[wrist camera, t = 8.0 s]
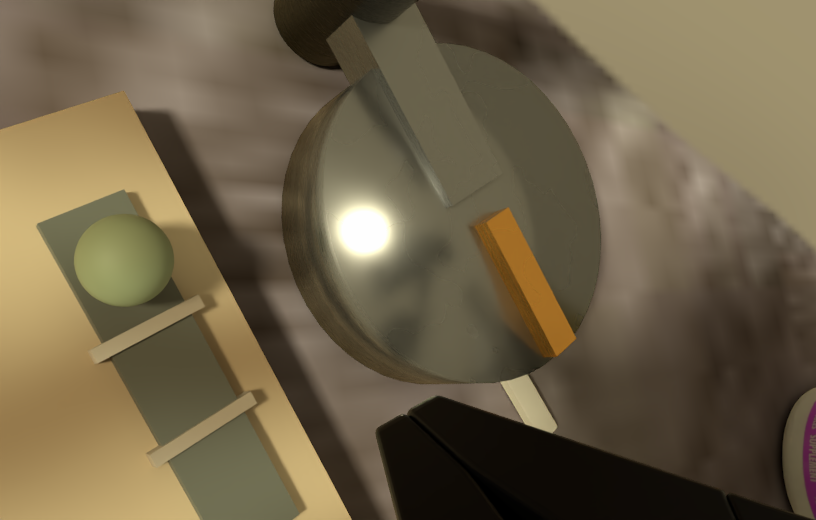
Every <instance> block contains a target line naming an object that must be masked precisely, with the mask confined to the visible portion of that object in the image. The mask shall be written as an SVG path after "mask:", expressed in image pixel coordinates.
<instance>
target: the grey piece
mask: <svg viewBox="0 0 816 520" xmlns="http://www.w3.org/2000/svg"><path fill="white" fill-rule="evenodd" d="M417 1H418V0H275V1H274V18H275V22H276V25H277V28H278V30H279V32H280V35H281V36H282V38H283V39H284V41H285V42H286V44H287V45H288V46H289V47H290V48H291V49H292V50H293V51H294V52H295V53H296V54H297V55H299V56H300V57H301V58H303V59H305V60H307V61H308V62H311V63H313V64H317V65H321V66H334V65H338V64H339V65H340V66H341V68H342V70H343V72H344V74H345V76H346V78H347V80H348V81H349V83H350V86H349V87H347V88H346V89H345V90H343V91H342V92H341V93H340V94H338V95H337V96H336V97H334V98H333V99H332V100H331V101H329V102H328V103H327V104H326V105H324V106H323V107H322V108H321V109H320V110H319V111H318V113H317V114H316V115H315V116H314V117H313V118H312V119H311V120H310V122H309V123H308V125H307V126H306V128H305V129H304V131H303V132H302V134H301V135H300V137H299V139H298V141H297V144H296V146H295V148H294V150H293V152H292V155H291V158H290V161H289V164H288V168H287V171H286V174H285V181H284V187H283V193H282V228H283V238H284V244H285V248H286V253H287V257H288V262H289V265H290V268H291V271H292V273H293V276H294V279H295V282H296V285H297V287H298V289H299V291H300V293H301V295H302V297H303V299H304V301H305V303H306V305H307V307H308V308H309V310H310V311H311V313H312V314H313V316H314V317H315V319H316V320H317V322H318V323H319V325H320V326H321V327H322V328H323V329H324V330H325V332H326V333H327V334H328V335H329V336H330V337H331V339H332V340H333V341H334V342H335V343H336V344H337V345H339V346H340V347H341V348H342V349H343V350H344V351H345V352H346V353H347V354H349V355H350V356H351V357H353V358H354V359H356V360H357V361H358V362H360V363H361V364H363V365H364V366H366V367H368V368H370V369H372V370H374V371H376V372H378V373H380V374H382V375H384V376H387V377H390V378H393V379H396V380H399V381H403V382H409V383H415V384H468V383H496V382H502V381H508V380H513V379H515V378H518V377H521V376H524V375H527V374H529V373H531V372H533V371H534V370H536V369H538V368H540V367H542V366H543V365H545V364H546V363H547V362H548V361H550V360H551V359H552V358H553V357H557V356H558V355H559V354H560V353H561V352H563V351H564V350H565V349H566V348H567V347H568V346H569V345H570V344H571V343H572V342H573V341H574V340H575V339H576V337H575V335H574V333H575V332H576V331H577V329H578V328H579V326H580V324H581V322H582V320H583V318H584V316H585V314H586V312H587V310H588V307H589V304H590V301H591V299H592V296H593V293H594V289H595V285H596V281H597V276H598V269H599V262H600V247H601V233H600V218H599V211H598V205H597V198H596V194H595V190H594V186H593V182H592V179H591V176H590V173H589V170H588V167H587V164H586V161H585V159H584V156H583V154H582V152H581V150H580V147H579V145H578V143H577V141H576V139H575V137H574V136H573V134H572V132H571V130H570V128H569V126H568V125H567V123H566V122H565V120H564V119H563V118H562V116H561V115H560V113H559V112H558V110H557V109H556V108H555V106H554V105H553V104H552V103H551V102H550V100H549V99H548V98H547V97H546V95H545V94H544V93H543V92H542V91H541V90H540V89H539V88H538V87H537V86H536V85H535V84H534V83H533V82H532V81H530V80H529V79H528V78H527V77H525V76H524V75H523V74H522V73H520V72H519V71H518V70H517V69H515V68H513V67H512V66H510V65H509V64H507V63H506V62H504V61H502V60H501V59H499V58H496V57H494V56H492V55H490V54H488V53H486V52H483V51H480V50H477V49H474V48H471V47H468V46H462V45H456V44H444V43H436V42H435V40H434V38H433V37H432V35H431V33H430V31H429V29H428V27H427V25H426V23H425V21H424V19H423V17H422V15H421V13H420V11H419V9H418V7H417V5H416V2H417Z"/></svg>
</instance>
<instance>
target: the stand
mask: <svg viewBox="0 0 816 520" xmlns="http://www.w3.org/2000/svg"><path fill="white" fill-rule="evenodd" d="M0 520H352V519H351V517H350V515H349V514H348V512H347V510H346V508H345V506H344V504H343V502H342V500H341V498H340V497H339V495H338V493H337V491H336V489H335V487H334V485H333V483H332V482H331V480H330V478H329V476H328V474H327V472H326V470H325V468H324V466H323V465H322V463H321V461H320V459H319V457H318V455H317V453H316V451H315V450H314V448H313V446H312V444H311V442H310V440H309V438H308V436H307V434H306V433H305V431H304V429H303V427H302V425H301V423H300V421H299V419H298V418H297V416H296V414H295V412H294V410H293V408H292V406H291V404H290V402H289V401H288V399H287V397H286V395H285V393H284V391H283V389H282V387H281V386H280V384H279V382H278V380H277V378H276V376H275V374H274V372H273V370H272V369H271V367H270V365H269V363H268V361H267V359H266V357H265V355H264V354H263V352H262V350H261V348H260V346H259V344H258V342H257V340H256V338H255V337H254V335H253V333H252V331H251V329H250V327H249V325H248V323H247V322H246V320H245V318H244V316H243V314H242V312H241V310H240V308H239V306H238V305H237V303H236V301H235V299H234V297H233V295H232V293H231V291H230V289H229V288H228V286H227V284H226V282H225V280H224V278H223V276H222V274H221V273H220V271H219V269H218V267H217V265H216V263H215V261H214V259H213V257H212V256H211V254H210V252H209V250H208V248H207V246H206V244H205V242H204V241H203V239H202V237H201V235H200V233H199V231H198V229H197V227H196V225H195V224H194V222H193V220H192V218H191V216H190V214H189V212H188V210H187V209H186V207H185V205H184V203H183V201H182V199H181V197H180V195H179V193H178V192H177V190H176V188H175V186H174V184H173V182H172V180H171V178H170V177H169V175H168V173H167V171H166V169H165V167H164V165H163V163H162V161H161V160H160V158H159V156H158V154H157V152H156V150H155V148H154V146H153V145H152V143H151V141H150V139H149V137H148V135H147V133H146V131H145V129H144V128H143V126H142V124H141V122H140V120H139V118H138V116H137V114H136V113H135V111H134V109H133V107H132V105H131V103H130V101H129V99H128V97H127V96H126V94H125V92H124V91H121V92H118V93H115V94H112V95H109V96H106V97H102V98H99V99H96V100H93V101H90V102H87V103H83V104H80V105H77V106H74V107H71V108H68V109H64V110H61V111H58V112H55V113H52V114H49V115H45V116H42V117H39V118H36V119H33V120H30V121H26V122H23V123H20V124H17V125H14V126H11V127H7V128H4V129H1V130H0Z"/></svg>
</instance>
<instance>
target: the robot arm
mask: <svg viewBox="0 0 816 520" xmlns="http://www.w3.org/2000/svg"><path fill="white" fill-rule="evenodd" d="M376 439H377V443H378V447H379V451H380V455H381V458H382V462H383V466H384V470H385V474H386V478H387V482H388V486H389V490H390V494H391V498H392V502H393V506H394V510H395V514H396V517H397V520H815V519H811V518H808V517H805V516H802V515H799V514H795V513H792V512H789V511H786V510H782V509H779V508H776V507H773V506H769V505H766V504H763V503H760V502H757V501H754V500H751V499H748V498H745V497H742V496H739V495H736V494H733V493H729V494H728V495H727V497H726V494H725V493H724V491H723V490H721V489H718V488H715V487H712V486H709V485H706V484H703V483H700V482H697V481H694V480H691V479H688V478H685V477H682V476H679V475H676V474H673V473H670V472H667V471H664V470H661V469H658V468H655V467H652V466H649V465H646V464H643V463H640V462H637V461H634V460H631V459H628V458H625V457H622V456H619V455H616V454H613V453H610V452H607V451H604V450H601V449H598V448H595V447H592V446H589V445H586V444H583V443H580V442H577V441H574V440H571V439H568V438H565V437H562V436H559V435H556V434H553V433H550V432H547V431H544V430H541V429H538V428H535V427H532V426H529V425H526V424H523V423H520V422H517V421H514V420H511V419H508V418H505V417H502V416H499V415H496V414H493V413H490V412H487V411H484V410H481V409H478V408H475V407H472V406H469V405H466V404H463V403H460V402H457V401H454V400H451V399H448V398H445V397H442V396H432V397H430V398H429V399H427V400H425V401H423V402H422V403H420V404H418V405H416V406H415V407H413V408H411V409H410V410H409V411H408V413H407V415H404V414H401V415H399V416H397V417H395V418H394V419H392V420H390V421H388V422H387V423H385V424H383V425H381V426H380V427H378V428H377V430H376Z"/></svg>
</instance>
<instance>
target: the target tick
mask: <svg viewBox="0 0 816 520" xmlns="http://www.w3.org/2000/svg"><path fill="white" fill-rule="evenodd" d="M501 384H502V386H503V387H504V389H505V391H506V393H507V394H508V396H509V398H510V399H511V401H512V403H513V405H514V406H515V408H516V410H517V411H518V413H519V415H520V417H521V418H522V420H523V422H524V423H525V424H526V425H529V426H532V427H535V428H538V429H541V430H544V431H547V432H550V433H553V432H554V430H555V429H556V428H557V427H558V426H557V425H556V423H555V421H554V419H553V418H552V416H551V414H550V413H549V411H548V409H547V407H546V406H545V404H544V402H543V400H542V399H541V397H540V395H539V393H538V392H537V390H536V388H535V387H534V385H533V383H532V381H531V380H530V378H529V376H528V374H527V375H524V376H521V377H518V378H515V379H513V380H508V381H502V382H501Z"/></svg>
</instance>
